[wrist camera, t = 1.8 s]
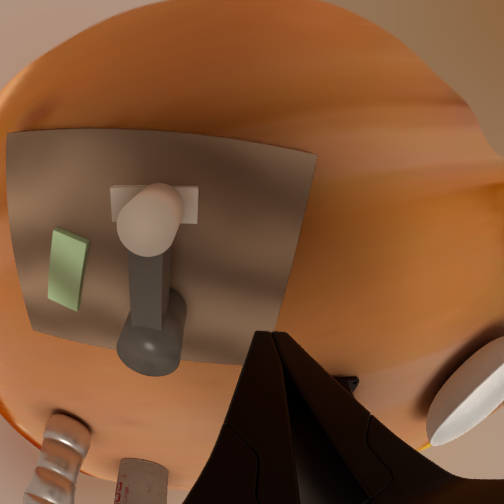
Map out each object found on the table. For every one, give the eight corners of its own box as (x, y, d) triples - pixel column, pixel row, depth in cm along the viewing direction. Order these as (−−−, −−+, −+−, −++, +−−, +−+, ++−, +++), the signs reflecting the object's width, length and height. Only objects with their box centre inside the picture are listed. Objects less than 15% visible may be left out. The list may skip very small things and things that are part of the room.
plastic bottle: (72, 434, 29) (48, 545, 11) (42, 407, 26) (5, 525, 8) (103, 434, 29) (82, 559, 11) (71, 406, 26) (36, 543, 8)
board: (260, 349, 24) (264, 371, 21) (42, 316, 20) (30, 334, 18) (307, 151, 17) (320, 156, 15) (23, 130, 14) (1, 134, 12)
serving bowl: (414, 430, 37) (428, 458, 31) (408, 376, 29) (433, 417, 22) (501, 368, 35) (518, 390, 29) (519, 291, 26) (549, 317, 20)
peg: (185, 331, 19) (179, 379, 15) (135, 324, 19) (120, 370, 15) (199, 181, 15) (190, 203, 11) (135, 175, 15) (105, 195, 11)
